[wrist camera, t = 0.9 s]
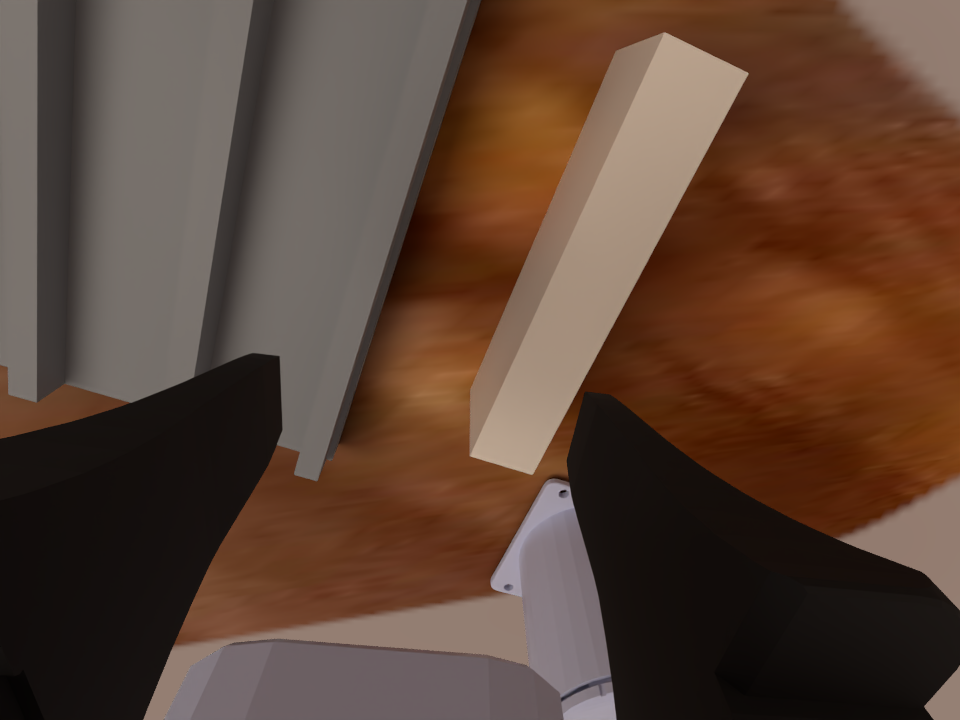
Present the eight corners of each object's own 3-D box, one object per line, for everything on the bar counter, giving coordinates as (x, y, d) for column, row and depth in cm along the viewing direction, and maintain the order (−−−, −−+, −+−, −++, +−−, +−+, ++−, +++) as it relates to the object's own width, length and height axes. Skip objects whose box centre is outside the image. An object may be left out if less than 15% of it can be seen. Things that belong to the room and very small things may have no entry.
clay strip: (614, 51, 17) (664, 32, 13) (678, 81, 18) (749, 73, 13) (470, 388, 23) (469, 456, 19) (521, 404, 23) (532, 474, 19)
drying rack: (497, -50, 16) (501, -77, 13) (338, 445, 24) (323, 482, 22) (-172, -380, 13) (-325, -495, 10) (-91, 318, 21) (-164, 346, 18)
